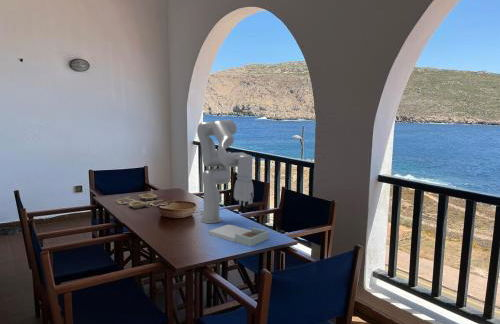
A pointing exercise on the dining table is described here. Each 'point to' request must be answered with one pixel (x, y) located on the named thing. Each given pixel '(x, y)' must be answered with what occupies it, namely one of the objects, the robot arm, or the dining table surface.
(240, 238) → the box
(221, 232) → the board
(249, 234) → the brown round disc
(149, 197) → the tableware set
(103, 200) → the dining table surface
